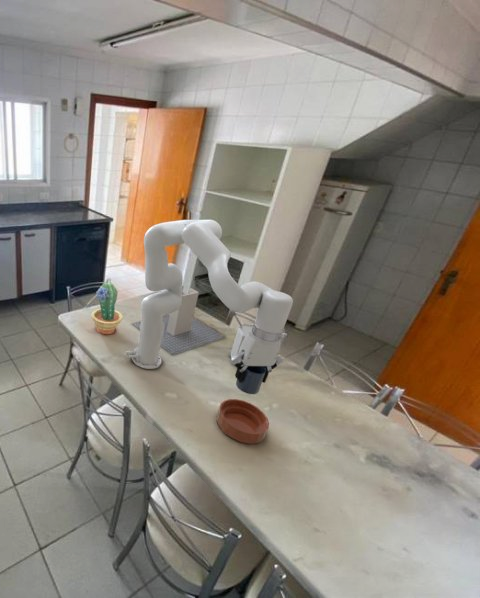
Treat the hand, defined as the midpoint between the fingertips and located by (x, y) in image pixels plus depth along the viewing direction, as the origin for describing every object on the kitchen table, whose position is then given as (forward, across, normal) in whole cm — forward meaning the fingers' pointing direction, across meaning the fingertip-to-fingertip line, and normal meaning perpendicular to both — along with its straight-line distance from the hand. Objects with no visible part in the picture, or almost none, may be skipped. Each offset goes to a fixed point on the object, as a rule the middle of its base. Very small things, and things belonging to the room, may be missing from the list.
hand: (249, 379), depth 104 cm
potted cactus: (+19, +38, -60) cm, 73 cm away
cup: (+3, 0, 0) cm, 3 cm away
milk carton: (+19, -19, -34) cm, 44 cm away
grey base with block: (+19, +1, -60) cm, 62 cm away
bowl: (+19, -1, +2) cm, 19 cm away
